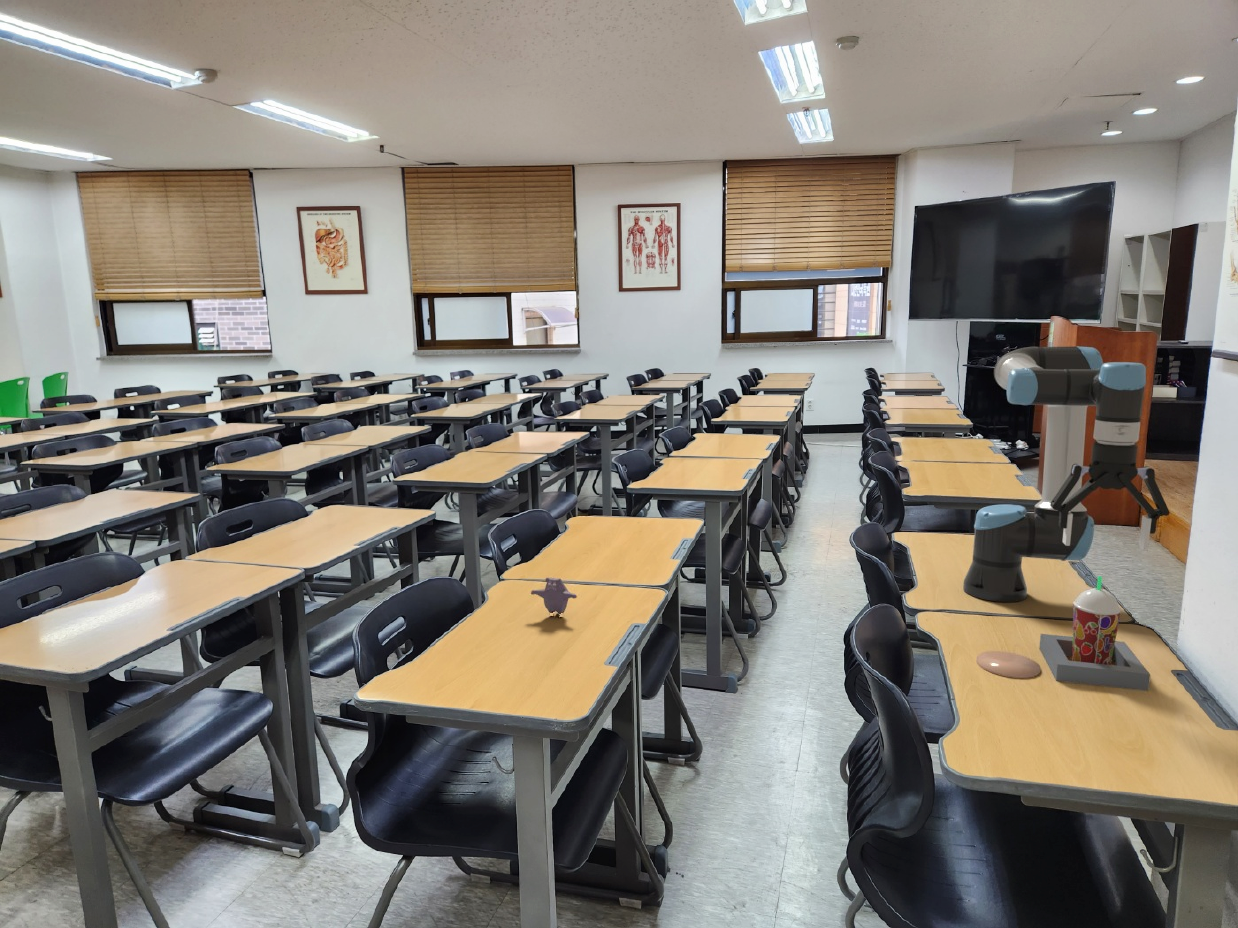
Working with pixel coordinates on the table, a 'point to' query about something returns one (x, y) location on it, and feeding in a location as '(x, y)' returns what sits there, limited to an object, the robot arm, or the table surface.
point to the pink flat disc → (1008, 664)
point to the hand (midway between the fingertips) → (1104, 546)
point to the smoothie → (1095, 626)
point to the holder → (1094, 665)
